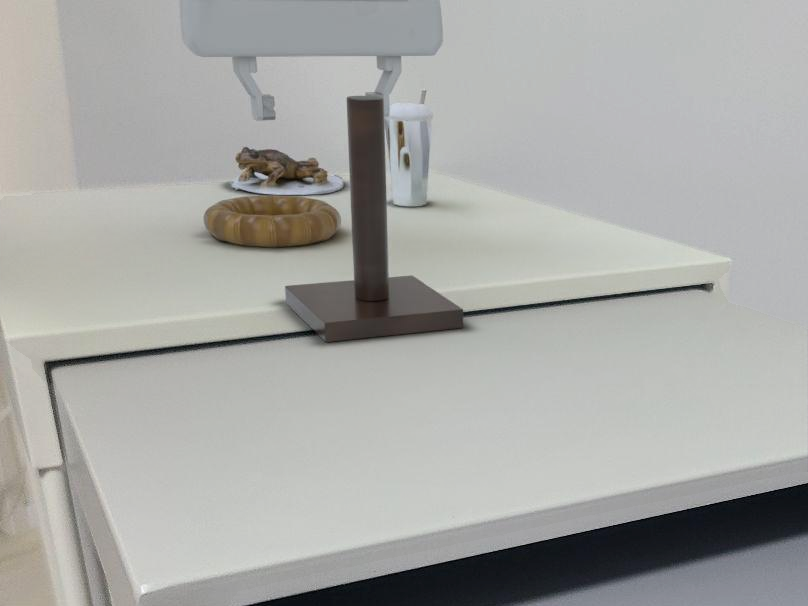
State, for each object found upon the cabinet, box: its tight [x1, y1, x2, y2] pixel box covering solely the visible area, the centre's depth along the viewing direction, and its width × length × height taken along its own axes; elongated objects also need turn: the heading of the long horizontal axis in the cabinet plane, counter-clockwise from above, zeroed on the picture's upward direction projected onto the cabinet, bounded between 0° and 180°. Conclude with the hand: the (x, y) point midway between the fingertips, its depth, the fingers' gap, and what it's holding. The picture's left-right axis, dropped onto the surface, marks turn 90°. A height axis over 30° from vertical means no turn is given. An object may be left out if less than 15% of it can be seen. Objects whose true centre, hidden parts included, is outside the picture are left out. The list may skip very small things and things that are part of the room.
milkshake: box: [384, 89, 434, 208], centre depth 101 cm, size 4×5×10 cm
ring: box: [203, 194, 342, 248], centre depth 89 cm, size 11×11×2 cm
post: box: [284, 95, 464, 343], centre depth 67 cm, size 9×9×13 cm
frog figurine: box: [229, 146, 345, 196], centre depth 108 cm, size 12×12×4 cm
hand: (322, 118), depth 87 cm, fingers open, 8 cm apart
